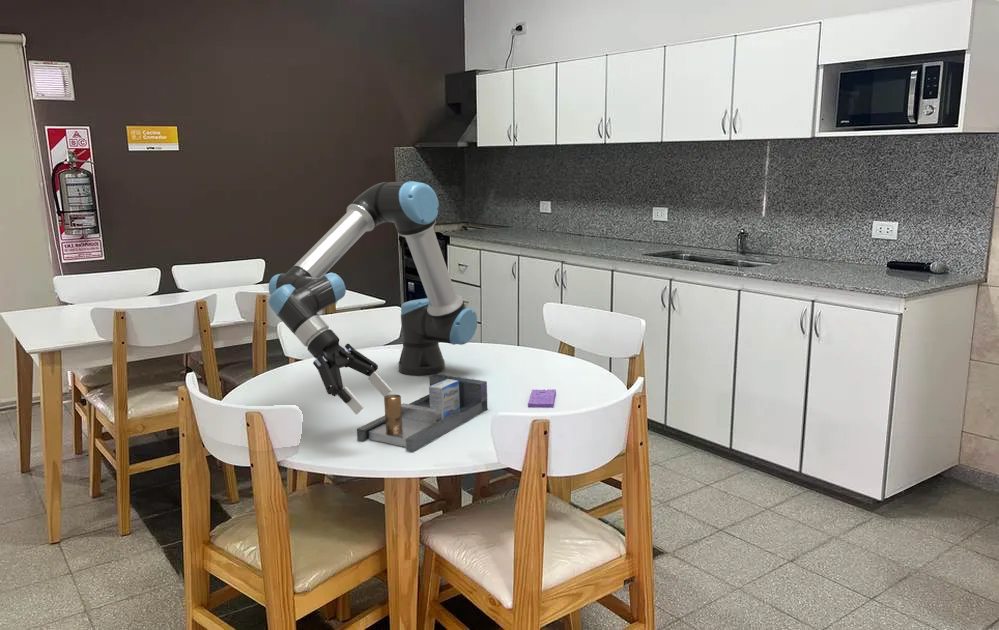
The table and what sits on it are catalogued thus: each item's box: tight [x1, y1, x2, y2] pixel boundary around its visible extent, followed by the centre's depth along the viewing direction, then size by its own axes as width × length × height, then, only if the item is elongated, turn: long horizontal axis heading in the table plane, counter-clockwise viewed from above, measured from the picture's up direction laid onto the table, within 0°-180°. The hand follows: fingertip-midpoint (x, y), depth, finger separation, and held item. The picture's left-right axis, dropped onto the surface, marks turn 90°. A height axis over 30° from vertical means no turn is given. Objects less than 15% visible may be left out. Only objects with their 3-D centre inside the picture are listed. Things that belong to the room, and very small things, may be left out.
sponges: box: [527, 388, 557, 409], centre depth 213 cm, size 7×13×2 cm, turn 172°
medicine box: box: [428, 379, 460, 419], centre depth 203 cm, size 8×4×9 cm, turn 148°
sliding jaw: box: [368, 394, 442, 448], centre depth 188 cm, size 12×14×11 cm
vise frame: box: [356, 373, 489, 453], centre depth 195 cm, size 17×34×8 cm, turn 150°
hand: (374, 402), depth 184 cm, fingers open, 13 cm apart
